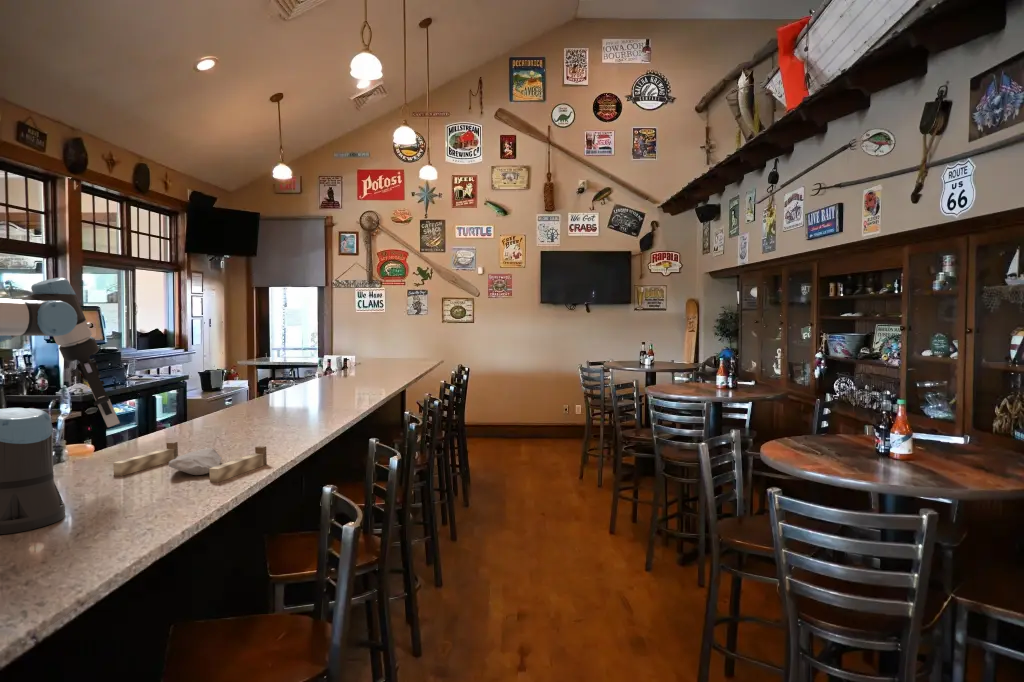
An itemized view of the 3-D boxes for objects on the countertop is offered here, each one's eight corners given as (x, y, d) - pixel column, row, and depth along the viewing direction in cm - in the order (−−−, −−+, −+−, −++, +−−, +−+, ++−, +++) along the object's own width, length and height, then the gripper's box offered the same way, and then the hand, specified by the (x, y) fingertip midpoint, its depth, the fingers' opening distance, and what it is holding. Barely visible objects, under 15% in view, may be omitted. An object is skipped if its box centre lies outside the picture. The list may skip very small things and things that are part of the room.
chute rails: (218, 482, 160) (217, 462, 159) (113, 475, 168) (113, 456, 168) (266, 464, 179) (266, 446, 179) (171, 458, 187) (170, 441, 187)
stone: (212, 482, 165) (230, 461, 189) (215, 463, 165) (232, 444, 189) (161, 478, 162) (185, 457, 186) (163, 459, 162) (188, 441, 186)
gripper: (99, 345, 144) (134, 425, 151) (88, 327, 163) (119, 398, 170) (61, 357, 140) (99, 438, 147) (54, 336, 159) (88, 409, 166)
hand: (110, 417), depth 159 cm, fingers open, 13 cm apart
